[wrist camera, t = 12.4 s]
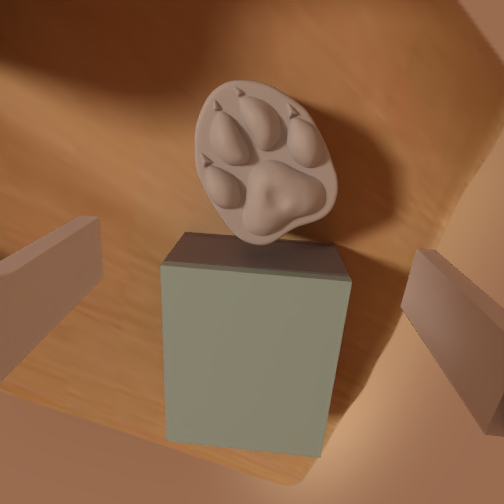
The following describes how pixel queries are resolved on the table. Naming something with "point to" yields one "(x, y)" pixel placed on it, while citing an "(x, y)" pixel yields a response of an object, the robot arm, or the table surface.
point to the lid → (250, 355)
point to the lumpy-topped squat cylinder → (262, 161)
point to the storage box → (259, 254)
